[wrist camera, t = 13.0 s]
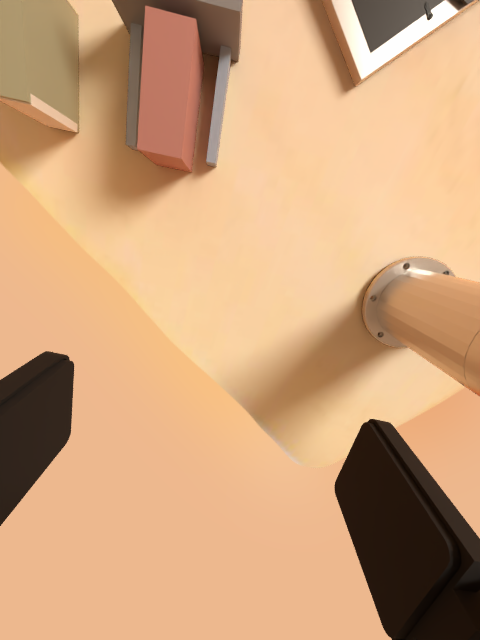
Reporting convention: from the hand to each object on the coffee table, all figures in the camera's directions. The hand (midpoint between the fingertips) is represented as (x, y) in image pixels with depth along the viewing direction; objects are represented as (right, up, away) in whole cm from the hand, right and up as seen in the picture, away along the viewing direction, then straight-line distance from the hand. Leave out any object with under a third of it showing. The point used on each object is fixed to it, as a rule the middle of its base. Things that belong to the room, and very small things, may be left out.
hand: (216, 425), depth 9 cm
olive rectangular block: (-17, +29, +19) cm, 39 cm away
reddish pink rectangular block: (-6, +25, +21) cm, 34 cm away
